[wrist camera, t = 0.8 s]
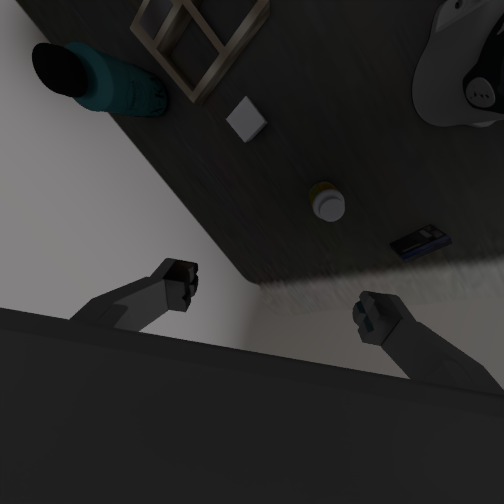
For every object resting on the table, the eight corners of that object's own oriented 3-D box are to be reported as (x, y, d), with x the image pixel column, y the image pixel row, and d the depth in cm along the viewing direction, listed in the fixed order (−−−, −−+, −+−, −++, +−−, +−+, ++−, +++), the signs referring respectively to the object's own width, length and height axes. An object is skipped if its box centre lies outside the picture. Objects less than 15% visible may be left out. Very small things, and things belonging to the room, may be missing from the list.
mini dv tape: (430, 224, 43) (450, 237, 38) (432, 229, 44) (452, 243, 39) (389, 243, 47) (402, 258, 42) (391, 248, 47) (405, 263, 42)
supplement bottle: (313, 178, 41) (322, 190, 33) (339, 184, 41) (355, 198, 33) (304, 204, 44) (310, 221, 36) (329, 209, 44) (341, 228, 36)
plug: (252, 102, 36) (245, 95, 28) (267, 122, 37) (265, 121, 30) (236, 121, 38) (225, 119, 30) (251, 139, 39) (244, 142, 31)
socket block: (209, -83, 27) (198, -116, 23) (270, 14, 30) (269, -2, 27) (144, 38, 33) (128, 27, 30) (201, 105, 37) (192, 102, 33)
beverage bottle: (139, 116, 39) (32, 107, 22) (133, 69, 36) (0, 16, 18) (174, 120, 39) (92, 115, 22) (171, 75, 35) (70, 25, 18)
